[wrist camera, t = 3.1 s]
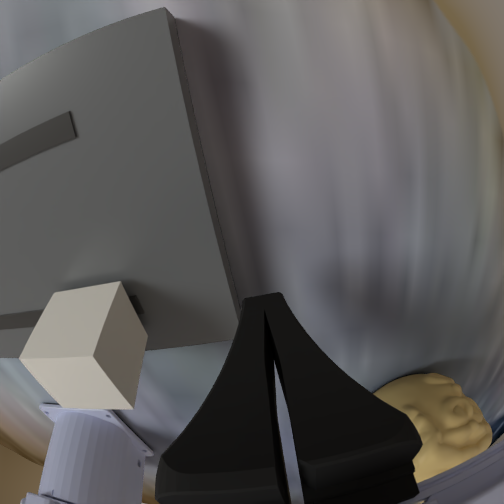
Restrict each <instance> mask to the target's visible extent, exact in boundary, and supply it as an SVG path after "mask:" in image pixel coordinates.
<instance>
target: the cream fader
mask: <svg viewBox="0 0 504 504" xmlns="http://www.w3.org/2000/svg"><path fill="white" fill-rule="evenodd" d="M147 338H148V335H147V333H146V331H145V329H144V327H143V326H142V324H141V322H140V320H139V318H138V316H137V314H136V312H135V310H134V308H133V306H132V304H131V302H130V300H129V298H128V296H127V294H126V291H125V289H124V287H123V285H122V283H121V281H118V282H112V283H107V284H101V285H95V286H90V287H84V288H78V289H72V290H67V291H61V292H55V293H54V294H53V296H52V297H51V299H50V301H49V302H48V304H47V306H46V308H45V310H44V311H43V313H42V315H41V317H40V319H39V320H38V322H37V324H36V326H35V328H34V330H33V332H32V333H31V335H30V337H29V339H28V341H27V343H26V345H25V347H24V349H23V351H22V353H21V355H20V357H19V359H20V361H21V362H22V363H23V364H24V366H25V367H26V368H27V369H28V370H29V372H30V373H31V374H32V375H33V376H34V377H35V379H36V380H37V381H38V382H39V383H40V384H41V385H42V386H43V387H44V389H45V390H46V391H47V392H48V393H49V394H50V395H51V396H52V397H53V398H54V399H55V400H56V401H57V402H58V403H59V404H60V405H61V406H62V407H63V408H79V409H134V405H135V399H136V394H137V388H138V383H139V377H140V372H141V367H142V362H143V357H144V352H145V347H146V343H147Z"/></svg>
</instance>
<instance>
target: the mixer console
mask: <svg viewBox="0 0 504 504" xmlns="http://www.w3.org/2000/svg"><path fill="white" fill-rule="evenodd" d="M118 281H121V283H122V285H123V287H124V289H125V291H126V294H127V296H128V298H129V300H130V302H131V304H132V306H133V308H134V310H135V312H136V314H137V316H138V318H139V320H140V322H141V324H142V326H143V327H144V329H145V331H146V333H147V335H148V338H147V343H146V347H145V351H147V350H157V349H166V348H174V347H183V346H190V345H198V344H205V343H212V342H219V341H226V340H233V339H234V337H235V334H236V330H237V327H238V324H239V320H240V316H241V310H240V306H239V302H238V298H237V294H236V290H235V286H234V282H233V278H232V274H231V270H230V266H229V262H228V258H227V254H226V250H225V246H224V241H223V237H222V233H221V229H220V225H219V221H218V216H217V212H216V208H215V204H214V200H213V195H212V191H211V187H210V182H209V178H208V174H207V169H206V165H205V161H204V156H203V152H202V147H201V143H200V138H199V134H198V129H197V125H196V120H195V115H194V111H193V106H192V101H191V97H190V92H189V87H188V83H187V78H186V73H185V68H184V63H183V58H182V53H181V48H180V43H179V38H178V33H177V28H176V23H175V18H174V16H173V15H172V14H171V13H170V12H169V11H168V10H167V9H166V8H165V7H163V8H159V9H156V10H152V11H149V12H146V13H142V14H139V15H136V16H133V17H130V18H127V19H124V20H121V21H118V22H116V23H113V24H110V25H108V26H105V27H102V28H100V29H97V30H95V31H93V32H90V33H88V34H85V35H83V36H81V37H79V38H76V39H74V40H72V41H70V42H68V43H66V44H63V45H61V46H59V47H57V48H55V49H53V50H51V51H49V52H47V53H46V54H44V55H42V56H40V57H38V58H36V59H34V60H33V61H31V62H29V63H27V64H26V65H24V66H22V67H20V68H19V69H17V70H15V71H14V72H12V73H11V74H9V75H7V76H6V77H4V78H3V79H1V80H0V358H19V357H20V355H21V353H22V351H23V349H24V347H25V345H26V343H27V341H28V339H29V337H30V335H31V333H32V332H33V330H34V328H35V326H36V324H37V322H38V320H39V319H40V317H41V315H42V313H43V311H44V310H45V308H46V306H47V304H48V302H49V301H50V299H51V297H52V296H53V294H54V293H55V292H61V291H67V290H72V289H78V288H84V287H90V286H95V285H101V284H107V283H112V282H118Z"/></svg>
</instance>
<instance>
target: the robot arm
mask: <svg viewBox="0 0 504 504" xmlns="http://www.w3.org/2000/svg"><path fill="white" fill-rule="evenodd" d="M274 361H275V365H276V368H277V372H278V376H279V379H280V383H281V386H282V390H283V393H284V397H285V401H286V404H287V408H288V412H289V416H290V422H291V428H292V433H293V439H294V445H295V451H296V456H297V462H298V468H299V474H300V480H301V486H302V492H303V498H304V504H417V503H420V502H422V501H424V502H423V503H422V504H504V440H502V441H501V442H499V443H497V444H496V445H494V446H493V447H491V448H489V449H487V450H485V451H484V452H482V453H480V454H478V455H476V456H475V457H473V458H471V459H469V460H467V461H465V462H463V463H461V464H459V465H457V466H455V467H453V468H451V469H449V470H447V471H445V472H442V473H440V474H438V475H436V476H433V477H431V478H429V479H426V480H424V481H421V482H419V483H416V480H415V477H414V474H413V473H414V472H415V466H414V464H413V461H412V460H413V459H414V458H415V456H416V455H417V454H418V452H419V451H420V449H421V447H422V445H423V443H422V440H421V437H420V434H419V433H418V431H417V429H416V427H415V426H414V424H413V422H412V421H411V420H410V418H409V417H408V415H407V414H405V413H403V412H402V411H400V410H398V409H396V408H394V407H393V406H391V405H389V404H388V403H386V402H384V401H383V400H381V399H380V398H378V397H377V396H375V395H374V394H372V393H371V392H369V391H368V390H367V389H365V388H364V387H363V386H361V385H360V384H359V383H357V382H356V381H355V380H353V379H352V378H351V377H350V376H348V375H347V374H346V373H345V372H344V371H343V370H342V369H340V368H339V367H338V366H337V365H336V364H335V363H334V362H333V361H332V360H331V359H330V358H329V357H328V356H327V355H326V354H325V353H324V352H323V351H322V350H321V349H320V348H319V347H318V345H317V344H316V343H315V342H314V341H313V340H312V339H311V337H310V336H309V335H308V334H307V332H306V331H305V330H304V328H303V327H302V326H301V324H300V323H299V322H298V320H297V319H296V317H295V316H294V314H293V313H292V311H291V310H290V308H289V306H288V305H287V303H286V301H285V299H284V296H283V294H282V293H280V292H277V293H272V294H266V295H261V296H255V297H249V298H245V299H244V300H243V304H242V311H241V316H240V320H239V324H238V327H237V330H236V334H235V337H234V340H233V343H232V346H231V348H230V351H229V353H228V356H227V358H226V361H225V363H224V365H223V368H222V370H221V372H220V374H219V376H218V378H217V380H216V382H215V384H214V385H213V387H212V389H211V391H210V392H209V394H208V396H207V397H206V399H205V401H204V402H203V404H202V406H201V407H200V409H199V410H198V412H197V413H196V414H195V416H194V417H193V418H192V420H191V421H190V422H189V424H188V425H187V426H186V428H185V429H184V430H183V432H182V433H181V434H180V435H179V436H178V438H177V439H176V440H175V441H174V442H173V443H172V444H171V445H170V446H169V448H168V449H167V450H166V451H165V452H164V453H163V454H162V455H161V458H160V461H159V465H158V470H157V474H156V484H155V499H156V500H157V501H158V502H159V503H160V504H291V498H290V492H289V486H288V480H287V474H286V468H285V462H284V456H283V449H282V443H281V437H280V431H279V424H278V417H277V405H276V388H275V371H274ZM39 408H40V409H41V410H42V411H43V412H44V413H45V414H46V415H47V416H48V417H49V418H50V419H51V420H52V421H53V422H54V423H55V425H54V429H53V432H52V436H51V440H50V444H49V447H48V451H47V455H46V459H45V464H44V469H43V473H42V477H41V482H40V487H39V492H38V495H36V494H33V493H30V492H28V493H27V496H26V498H23V499H22V500H21V502H20V504H141V502H142V488H143V476H144V465H145V456H153V455H154V452H153V451H152V450H151V449H150V448H149V447H148V446H147V445H146V444H145V443H144V442H143V441H142V440H141V439H139V438H138V437H137V436H136V435H135V434H134V433H133V432H132V431H131V430H130V429H129V428H128V427H127V425H126V424H125V423H124V422H123V421H122V420H121V419H120V418H119V417H118V416H117V415H116V414H115V413H114V412H113V411H112V410H111V409H79V408H63V407H62V406H61V405H54V404H40V406H39Z"/></svg>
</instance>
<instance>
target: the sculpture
mask: <svg viewBox="0 0 504 504" xmlns="http://www.w3.org/2000/svg"><path fill="white" fill-rule="evenodd" d="M373 394H374V395H375V396H377V397H378V398H380V399H381V400H383V401H384V402H386V403H388V404H389V405H391V406H393V407H394V408H396V409H398V410H400V411H402V412H403V413H405V414H407V415H408V417H409V418H410V420H411V421H412V422H413V424H414V426H415V427H416V429H417V431H418V433H419V434H420V437H421V440H422V443H423V445H422V447H421V449H420V451H419V452H418V454H417V455H416V456H415V458H414V459H413V460H412V461H413V464H414V466H415V472H414V473H413V474H414V477H415V480H416V483H419V482H421V481H424V480H426V479H429V478H431V477H433V476H436V475H438V474H440V473H442V472H445V471H447V470H449V469H451V468H453V467H455V466H457V465H459V464H461V463H463V462H465V461H467V460H469V459H471V458H473V457H475V456H476V455H478V454H480V453H482V452H484V451H485V450H486V449H487V448H488V447H489V446H490V444H491V441H492V430H491V427H490V425H489V424H488V423H487V422H486V420H485V419H484V417H483V414H482V412H481V410H480V409H479V407H478V406H477V404H476V403H475V402H474V401H473V400H472V399H471V398H468V397H466V396H465V395H464V394H463V393H462V389H461V387H460V385H459V384H455V382H454V380H453V379H451V378H449V377H446V376H443V375H440V374H437V373H429V374H415V375H409V376H405V377H402V378H399V379H396V380H394V381H392V382H390V383H388V384H386V385H385V386H383V387H382V388H380V389H379V390H377V391H376V392H375V393H373ZM422 502H424V501H422ZM422 502H420V503H422ZM417 504H418V503H417Z"/></svg>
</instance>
